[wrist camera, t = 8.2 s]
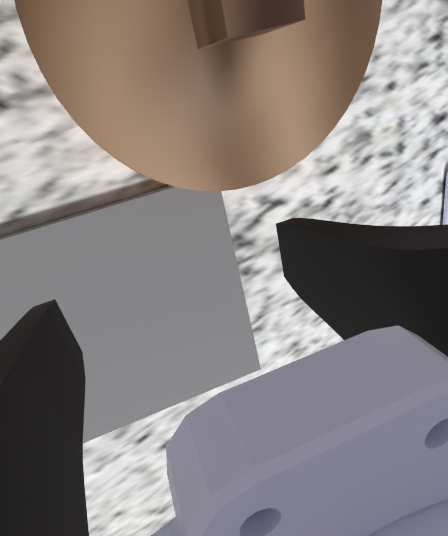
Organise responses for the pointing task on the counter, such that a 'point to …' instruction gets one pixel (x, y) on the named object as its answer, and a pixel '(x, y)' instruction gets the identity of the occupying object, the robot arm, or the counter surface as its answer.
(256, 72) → the lid
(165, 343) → the mat
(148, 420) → the counter surface
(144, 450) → the counter surface
